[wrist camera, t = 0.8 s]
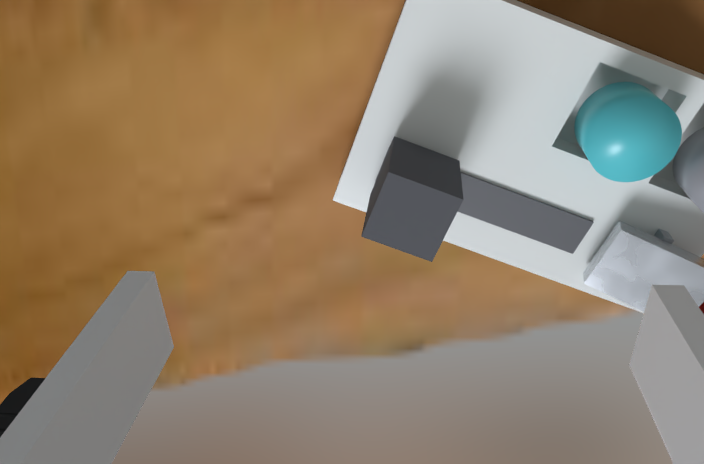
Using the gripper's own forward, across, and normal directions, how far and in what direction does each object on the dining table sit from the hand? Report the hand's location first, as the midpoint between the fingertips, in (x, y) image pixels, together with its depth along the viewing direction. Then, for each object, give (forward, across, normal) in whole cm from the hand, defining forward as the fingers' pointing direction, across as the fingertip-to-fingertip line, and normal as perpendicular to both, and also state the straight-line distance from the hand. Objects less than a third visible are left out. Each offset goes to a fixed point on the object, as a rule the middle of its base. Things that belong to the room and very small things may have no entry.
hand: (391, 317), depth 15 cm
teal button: (+19, +12, -1) cm, 22 cm away
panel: (+22, +8, -4) cm, 24 cm away
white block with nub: (+17, +14, -10) cm, 25 cm away
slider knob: (+18, +1, -4) cm, 19 cm away
